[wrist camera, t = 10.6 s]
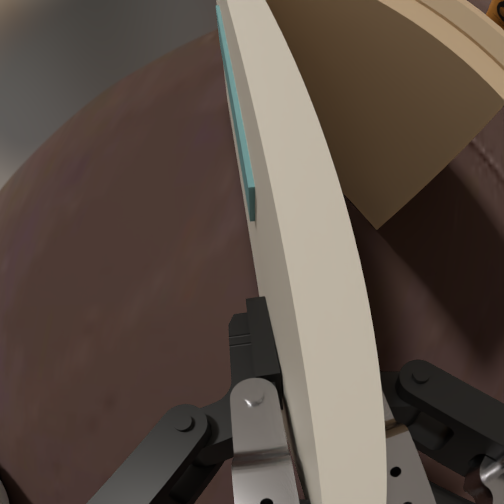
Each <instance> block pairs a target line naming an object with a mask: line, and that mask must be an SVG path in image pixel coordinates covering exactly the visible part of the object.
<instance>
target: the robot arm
mask: <svg viewBox="0 0 504 504" xmlns="http://www.w3.org/2000/svg"><path fill="white" fill-rule="evenodd" d="M246 305H247V313H240V314H234V315H233V317H232V319H231V321H230V323H229V344H230V363H231V387H230V389H229V391H228V393H227V394H226V395H225V396H224V397H223V398H222V399H221V400H219V401H217V402H215V403H213V404H210V405H208V406H205V407H202V408H198V407H196V406H194V405H188V404H183V405H178V406H175V407H173V408H171V409H170V410H169V411H167V413H166V414H165V415H164V416H163V417H162V418H161V420H160V421H159V422H158V423H157V424H156V425H155V427H154V428H153V429H152V430H151V431H150V432H149V434H148V435H147V436H146V437H145V438H144V440H143V441H142V442H141V443H140V444H139V445H138V446H137V448H136V449H135V450H134V451H133V452H132V453H131V455H130V456H129V457H128V458H127V459H126V460H125V461H124V463H123V464H122V465H121V466H120V467H119V468H118V469H117V470H116V472H115V473H114V474H113V475H112V476H111V477H110V478H109V479H108V481H107V482H106V483H105V484H104V485H103V486H102V487H101V488H100V489H99V490H98V492H97V493H96V494H95V495H94V496H93V497H92V498H91V499H90V500H89V501H88V502H87V504H194V503H195V501H196V500H197V499H198V497H199V496H200V495H201V493H202V492H203V491H204V489H205V488H206V487H207V485H208V484H209V483H210V481H211V480H212V478H213V477H214V476H215V474H216V473H217V471H218V470H219V469H220V467H221V466H222V464H223V463H224V461H225V460H227V459H230V458H232V457H234V458H233V460H232V480H233V492H234V503H235V504H311V503H310V500H301V499H299V498H298V493H297V488H296V482H295V477H294V472H293V467H292V462H291V457H290V453H289V450H288V446H287V441H286V435H285V430H284V425H283V419H282V414H281V410H283V398H282V385H281V372H280V367H279V363H278V358H277V353H276V348H275V343H274V338H273V333H272V328H271V323H270V318H269V313H268V308H267V303H266V299H265V296H262V297H255V298H248V299H246ZM380 379H381V388H382V398H383V409H384V422H385V438H386V464H387V498H386V504H504V404H503V403H501V402H500V401H498V400H496V399H494V398H492V397H490V396H489V395H487V394H485V393H483V392H481V391H480V390H478V389H476V388H474V387H472V386H470V385H469V384H467V383H465V382H463V381H461V380H460V379H458V378H456V377H454V376H452V375H451V374H449V373H447V372H445V371H443V370H442V369H440V368H438V367H436V366H434V365H433V364H431V363H429V362H427V361H424V360H413V361H410V362H408V363H406V364H405V365H404V366H403V367H402V369H401V371H400V372H382V371H380ZM416 449H417V450H419V451H421V452H422V453H424V454H426V455H427V456H429V457H431V458H432V459H434V460H436V461H437V462H439V463H441V464H442V465H444V466H446V467H448V468H449V469H451V470H453V471H455V472H456V473H458V474H460V475H462V476H464V477H465V481H464V485H463V489H464V491H465V492H467V493H468V494H470V495H471V496H472V497H473V498H474V500H475V502H476V503H473V502H471V501H469V500H467V499H465V498H463V497H460V496H458V495H456V494H454V493H452V492H450V491H448V490H446V489H444V488H442V487H440V486H438V485H436V484H434V483H432V482H430V481H428V479H427V476H426V473H425V470H424V468H423V465H422V462H421V460H420V457H419V455H418V452H417V450H416Z"/></svg>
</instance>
